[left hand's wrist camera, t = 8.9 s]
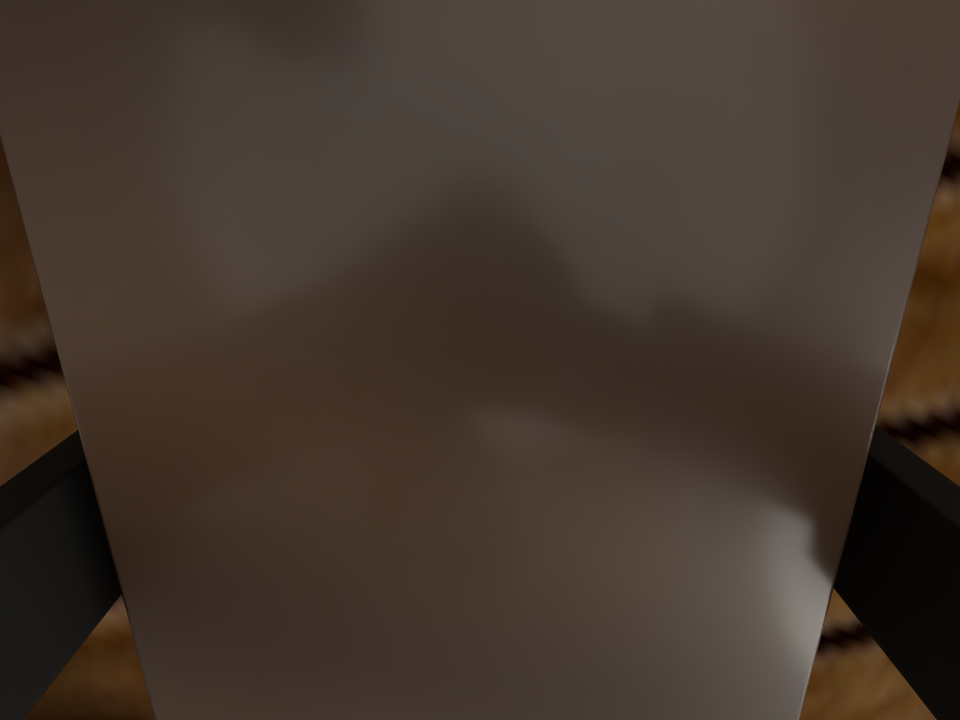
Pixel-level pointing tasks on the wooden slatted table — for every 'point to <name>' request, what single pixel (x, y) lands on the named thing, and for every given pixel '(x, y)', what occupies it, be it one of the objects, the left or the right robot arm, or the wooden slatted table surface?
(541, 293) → the cabinet
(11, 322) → the wooden slatted table surface
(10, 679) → the left robot arm
